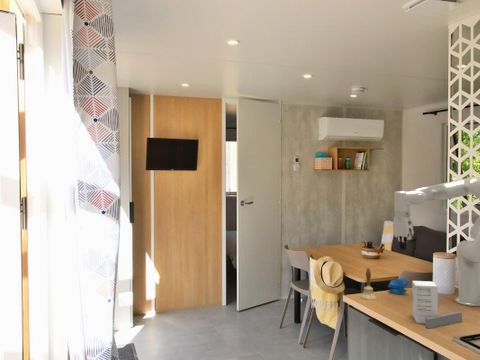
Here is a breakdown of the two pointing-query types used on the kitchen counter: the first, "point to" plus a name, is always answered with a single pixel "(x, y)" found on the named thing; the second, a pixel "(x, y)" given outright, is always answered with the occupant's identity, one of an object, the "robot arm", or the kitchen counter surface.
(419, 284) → the supplement box
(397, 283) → the crystal
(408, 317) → the kitchen counter surface
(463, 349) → the kitchen counter surface
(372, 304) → the kitchen counter surface
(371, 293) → the hand bell
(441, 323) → the gray rectangular bar
